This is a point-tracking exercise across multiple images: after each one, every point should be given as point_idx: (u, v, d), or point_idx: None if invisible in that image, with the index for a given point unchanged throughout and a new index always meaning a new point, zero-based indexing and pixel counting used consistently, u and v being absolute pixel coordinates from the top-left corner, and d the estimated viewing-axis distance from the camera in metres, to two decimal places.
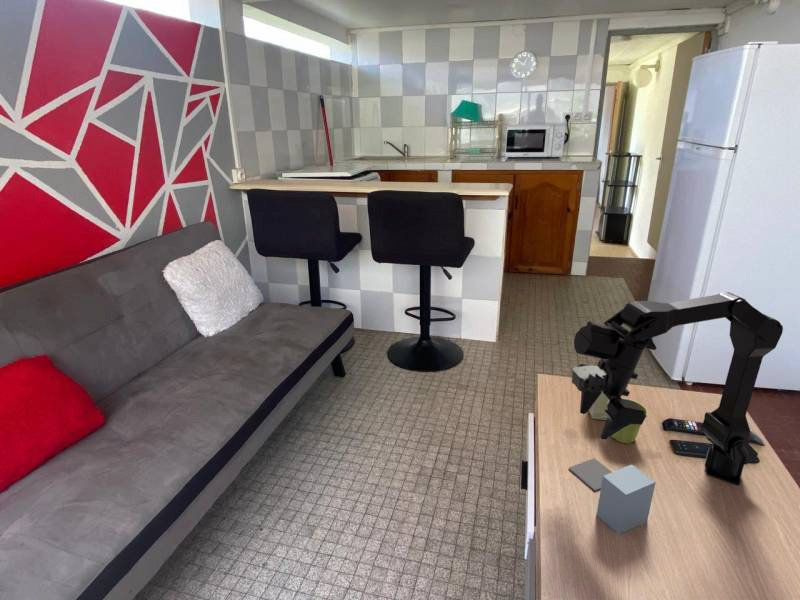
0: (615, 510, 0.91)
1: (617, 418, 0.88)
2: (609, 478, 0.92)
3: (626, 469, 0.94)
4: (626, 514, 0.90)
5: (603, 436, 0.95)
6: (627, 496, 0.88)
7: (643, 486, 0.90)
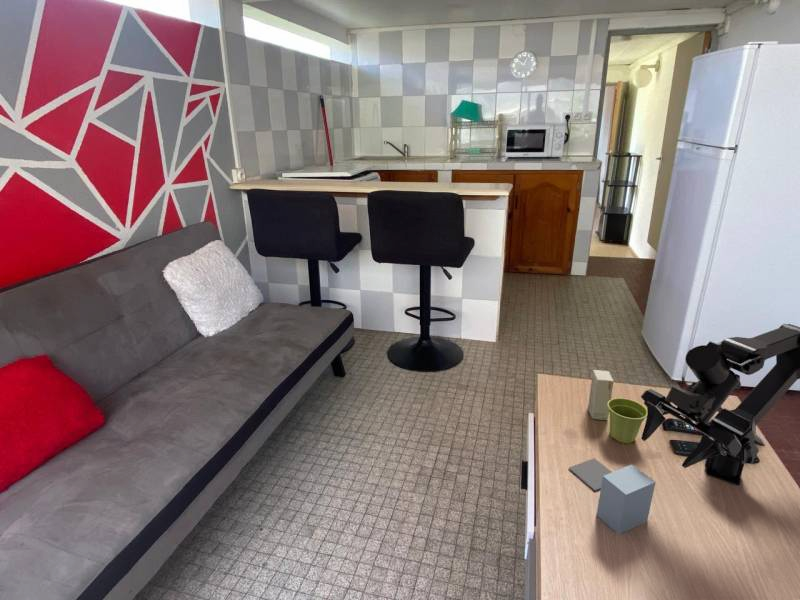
0: (615, 510, 0.91)
1: (726, 444, 0.85)
2: (609, 478, 0.92)
3: (626, 469, 0.94)
4: (626, 514, 0.90)
5: (687, 463, 0.90)
6: (627, 496, 0.88)
7: (643, 486, 0.90)
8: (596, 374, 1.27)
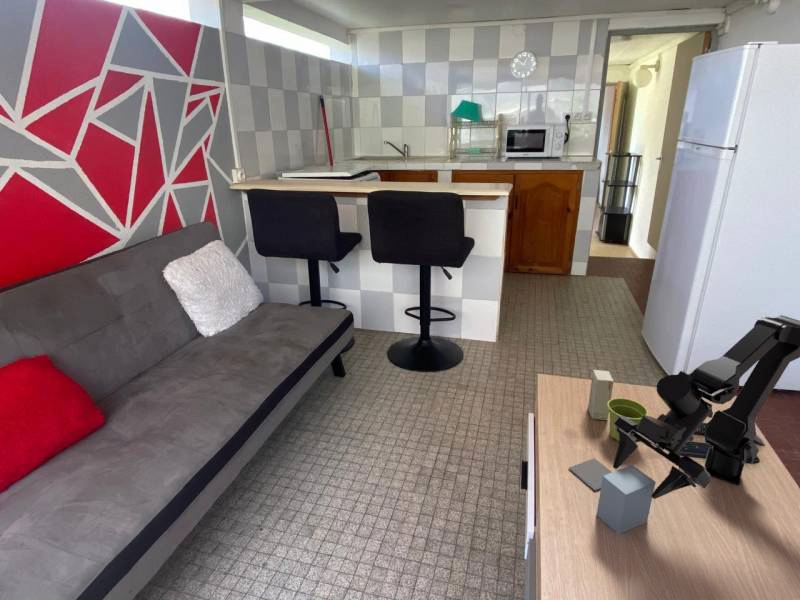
0: (615, 510, 0.91)
1: (695, 476, 0.84)
2: (609, 478, 0.92)
3: (626, 469, 0.94)
4: (626, 514, 0.90)
5: (656, 495, 0.88)
6: (627, 496, 0.88)
7: (643, 486, 0.90)
8: (596, 374, 1.27)
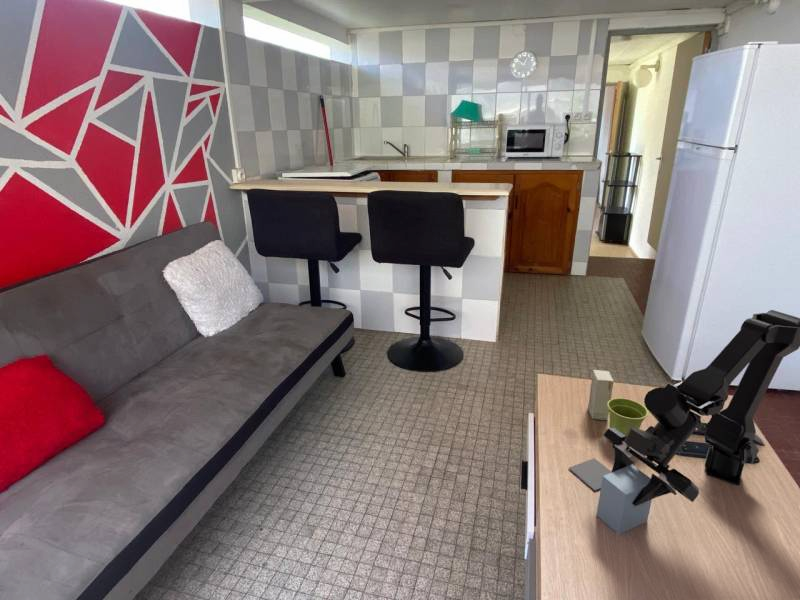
0: (615, 510, 0.91)
1: (682, 490, 0.84)
2: (609, 478, 0.92)
3: (626, 469, 0.94)
4: (626, 513, 0.90)
5: (637, 502, 0.89)
6: (627, 496, 0.88)
7: (643, 486, 0.90)
8: (596, 374, 1.27)
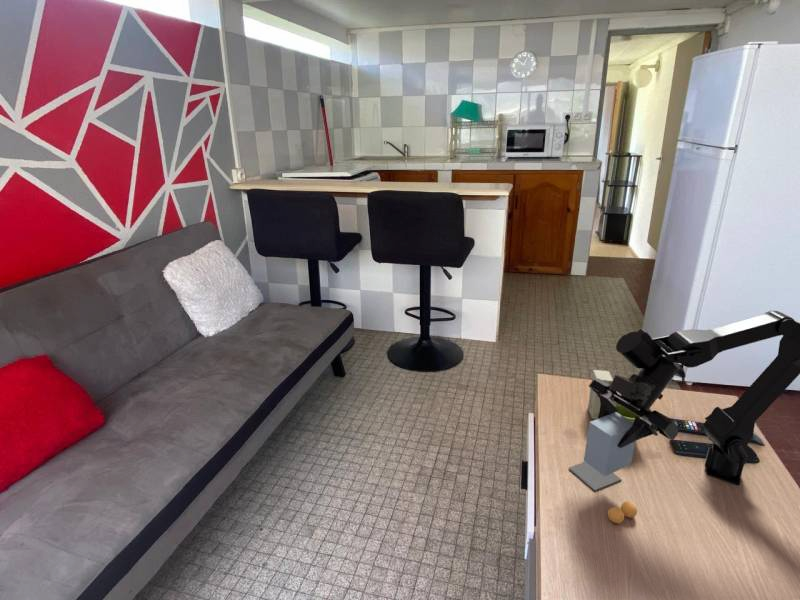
0: (601, 453, 0.97)
1: (663, 428, 0.89)
2: (595, 423, 0.98)
3: (610, 416, 1.00)
4: (611, 455, 0.96)
5: (622, 444, 0.95)
6: (612, 438, 0.94)
7: (627, 429, 0.96)
8: (596, 374, 1.27)
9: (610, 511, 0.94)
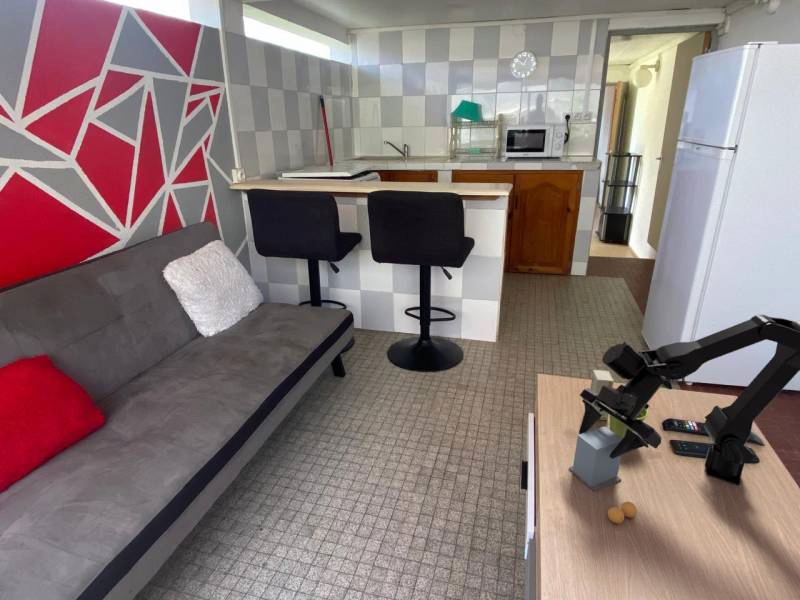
0: (588, 464, 1.03)
1: (646, 437, 0.95)
2: (583, 437, 1.04)
3: (598, 430, 1.06)
4: (597, 467, 1.02)
5: (613, 455, 0.99)
6: (598, 451, 1.00)
7: (612, 443, 1.02)
8: (596, 374, 1.27)
9: (610, 511, 0.94)
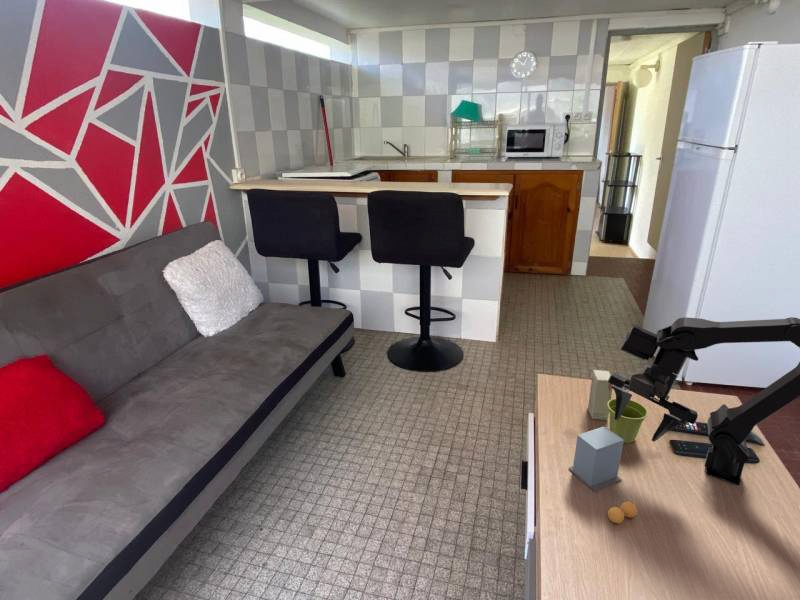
0: (588, 464, 1.03)
1: (684, 419, 0.98)
2: (583, 437, 1.04)
3: (598, 430, 1.06)
4: (597, 467, 1.02)
5: (655, 438, 1.03)
6: (597, 451, 1.00)
7: (612, 443, 1.02)
8: (596, 374, 1.27)
9: (610, 511, 0.94)
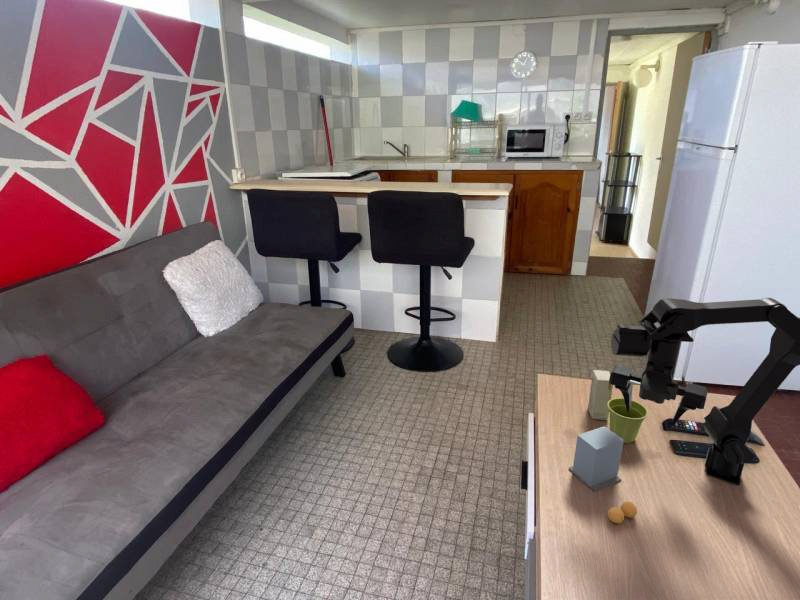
0: (588, 464, 1.03)
1: (702, 407, 0.96)
2: (583, 437, 1.04)
3: (598, 430, 1.06)
4: (597, 467, 1.02)
5: (675, 423, 1.03)
6: (597, 451, 1.00)
7: (612, 443, 1.02)
8: (596, 374, 1.27)
9: (610, 511, 0.94)
